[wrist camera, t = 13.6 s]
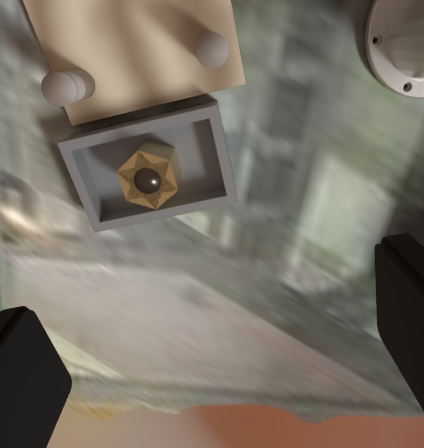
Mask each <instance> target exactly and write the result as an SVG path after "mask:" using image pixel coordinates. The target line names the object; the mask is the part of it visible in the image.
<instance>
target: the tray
mask: <svg viewBox="0 0 424 448" xmlns="http://www.w3.org/2000/svg"><path fill="white" fill-rule="evenodd" d="M147 139H150V140H153V141H156V142H159V143H162V144H166V145H169V146H172V147H175V149H176V153H177V157H178V160H179V164H180V168H181V172H182V177H181V181H180V185H179V188H178V191H177V192H175V193H174V194H173V195H172V196H171V197H170V198H169V199H168V200H166V201H165V202H164V203H163V204H162V205H161V206H160V207H159V208H157V209H153V208H149V207H146V206H143V205H139V204H136V203H132V202H129V201H126V198H125V195H124V192H123V190H122V187H121V184H120V181H119V178H118V175H117V170H118V169H119V168H120V167H121V166H122V164H123V163H124V162H125V161H126V160H127V158H128V157H129V156H130V155H131V154H132V153H133V152H134V151H135V150H136V149H137V148H138V147H139V146H140V145H141V144H142V143H143V142H144V141H146V140H147ZM57 144H58V147H59V149H60V152H61V154H62V156H63V159H64V161H65V164H66V166H67V168H68V171H69V173H70V176H71V178H72V180H73V183H74V185H75V188H76V190H77V192H78V195H79V197H80V200H81V202H82V204H83V207H84V209H85V212H86V214H87V216H88V219H89V221H90V224H91V226H92V228H93V231H94V233H95V232H99V231H104V230H109V229H114V228H119V227H123V226H128V225H133V224H138V223H143V222H147V221H152V220H157V219H162V218H167V217H171V216H176V215H181V214H186V213H190V212H195V211H200V210H205V209H210V208H214V207H219V206H224V205H229V204H234V203H238V198H237V192H236V187H235V182H234V177H233V173H232V168H231V163H230V158H229V154H228V149H227V144H226V139H225V135H224V130H223V125H222V120H221V116H220V111H219V106H218V101H213V102H209V103H205V104H201V105H196V106H192V107H188V108H184V109H180V110H176V111H171V112H167V113H163V114H159V115H155V116H150V117H146V118H142V119H138V120H134V121H130V122H125V123H121V124H117V125H113V126H109V127H105V128H100V129H96V130H92V131H88V132H84V133H79V134H75V135H71V136H69V137H67V138H65V139H64V140H62V141H60V142H58V143H57Z"/></svg>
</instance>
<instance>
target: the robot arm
mask: <svg viewBox="0 0 424 448" xmlns="http://www.w3.org/2000/svg"><path fill="white" fill-rule="evenodd" d="M374 37H375V38H376V42H375V43H374V44H373V42H372V41H373V38H374ZM365 49H366V54H367V60H368V62H369V65H370V67H371V70H372V72H373V73H374V75H375V76H376V78H377V79H378V80H379V81H380V82H381V83H382V84H383V85H384V86H385V87H386V88H387V89H389V90H391V91H393V92H395V93H396V94H400V95H403V96H406V97H412V98H424V0H374V1H373V3H372V6H371V9H370V12H369V15H368V19H367V24H366V30H365ZM404 85H406V86H405V88H404V89H403V86H404ZM375 276H376V305H377V327H378V331H379V335H380V337H381V339H382V341H383V343H384V344H385V346H386V348H387V350H388V351H389V353H390V355H391V356H392V358H393V360H394V361H395V363H396V365H397V367H398V368H399V370H400V372H401V373H402V375H403V377H404V378H405V380H406V382H407V384H408V385H409V387H410V389H411V390H412V392H413V394H414V396H415V397H416V399H417V401H418V402H419V404H420V406H421V407H422V409H423V411H424V247H423V246H422V245H421V244H420V243H418V242H417V241H416V240H415V239H414V238H413V237H412V236H411V235H410V234H408V233H404V234H398V235H393V236H388V237H383V238H382V240H381V244H376V245H375ZM71 387H72V380H71V376H70V374H69V372H68V371H67V369H66V367H65V365H64V363H63V362H62V360H61V358H60V356H59V355H58V353H57V351H56V349H55V347H54V346H53V344H52V342H51V340H50V338H49V337H48V335H47V333H46V331H45V330H44V328H43V326H42V324H41V322H40V321H39V319H38V317H37V315H36V314H35V312H34V311H32V310H29V309H28V308H27V307H25V306H20V307H15V308H10V309H5V310H2V311H1V312H0V448H46V447H47V445H48V442H49V440H50V437H51V435H52V433H53V431H54V428H55V426H56V423H57V421H58V419H59V416H60V414H61V412H62V409H63V407H64V405H65V402H66V400H67V398H68V395H69V393H70V391H71Z"/></svg>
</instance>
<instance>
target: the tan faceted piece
mask: <svg viewBox="0 0 424 448" xmlns="http://www.w3.org/2000/svg"><path fill="white" fill-rule="evenodd" d="M117 175H118V178H119V181H120V184H121V187H122V190H123V192H124V195H125V198H126V201H129V202H132V203H136V204H139V205H143V206H146V207H149V208H153V209H157V208H159V207H160V206H161V205H162V204H163V203H164V202H165V201H166V200H168V199H169V198H170V197H171V196H172V195H173V194H174V193H175V192H177V191H178V188H179V185H180V181H181V177H182V172H181V168H180V164H179V160H178V157H177V153H176V149H175V147H172V146H169V145H166V144H162V143H159V142H156V141H153V140H150V139H147V140H146V141H144V142H143V143H142V144H141V145H140V146H139V147H138V148H137V149H136V150H135V151H134V152H133V153H132V154H131V155H130V156H129V157H128V158H127V160H126V161H125V162H124V163H123V164H122V166H121V167H120V168H119V169H118V170H117Z"/></svg>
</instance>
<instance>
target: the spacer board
mask: <svg viewBox="0 0 424 448" xmlns="http://www.w3.org/2000/svg"><path fill="white" fill-rule="evenodd" d="M23 2H24V5H25V7H26V10H27V12H28V15H29V17H30V20H31V23H32V25H33V28H34V30H35V33H36V35H37V38H38V40H39V43H40V46H41V48H42V51H43V53H44V56H45V58H46V61H47V63H48V66H49V69H50V71H51V73H50V74H48V75H46V76H45V77H44V78H43V80H42V84H41V89H42V93H43V95H44V97H45V98H46V100H47V101H48V102H49V103H51V104H53V105H55V106H64V107H65V110H66V112H67V115H68V117H69V120H70V122H71V125H72V126H74V125H78V124H82V123H86V122H90V121H94V120H98V119H103V118H107V117H111V116H115V115H119V114H123V113H127V112H131V111H136V110H140V109H144V108H148V107H152V106H156V105H160V104H165V103H169V102H173V101H177V100H181V99H185V98H189V97H193V96H198V95H202V94H206V93H210V92H214V91H218V90H222V89H226V88H231V87H235V86H239V85H243V84H245V79H244V73H243V68H242V62H241V56H240V51H239V45H238V39H237V33H236V28H235V22H234V16H233V11H232V5H231V0H23Z"/></svg>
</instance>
